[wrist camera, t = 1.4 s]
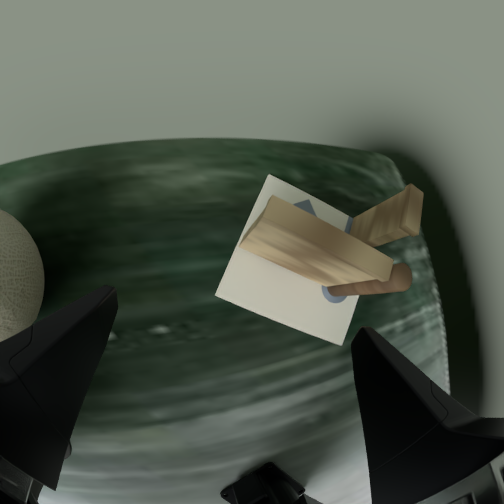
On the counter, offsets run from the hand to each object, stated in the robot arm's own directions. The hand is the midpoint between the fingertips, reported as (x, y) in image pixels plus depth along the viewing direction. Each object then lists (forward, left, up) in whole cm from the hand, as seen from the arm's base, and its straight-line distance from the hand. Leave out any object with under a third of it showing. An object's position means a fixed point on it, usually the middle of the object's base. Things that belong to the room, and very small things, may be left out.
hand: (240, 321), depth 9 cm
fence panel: (-1, -7, -13) cm, 15 cm away
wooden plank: (-4, -13, -13) cm, 19 cm away
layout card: (-2, -9, -13) cm, 16 cm away
